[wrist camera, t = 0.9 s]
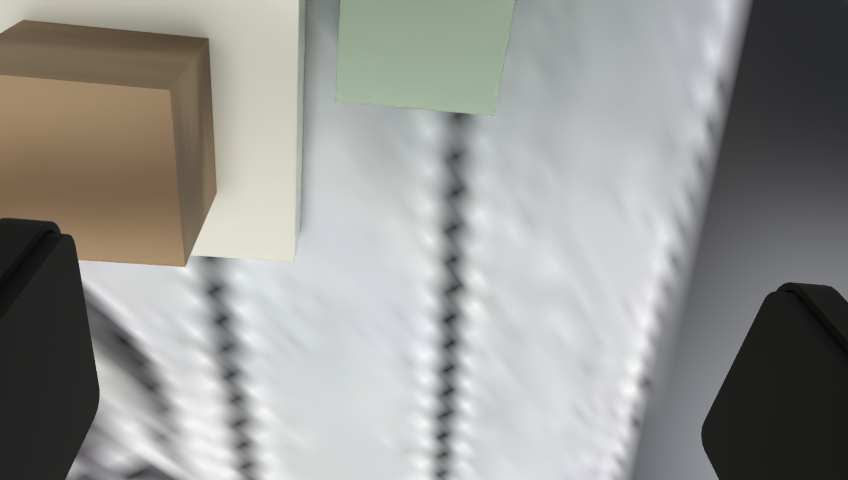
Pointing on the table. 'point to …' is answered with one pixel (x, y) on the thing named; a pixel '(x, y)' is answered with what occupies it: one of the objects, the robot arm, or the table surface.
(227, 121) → the base slab
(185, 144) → the walnut block
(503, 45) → the sage block
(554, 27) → the table surface
